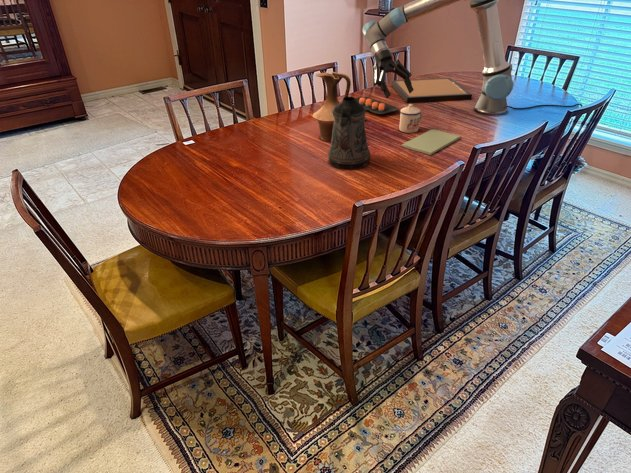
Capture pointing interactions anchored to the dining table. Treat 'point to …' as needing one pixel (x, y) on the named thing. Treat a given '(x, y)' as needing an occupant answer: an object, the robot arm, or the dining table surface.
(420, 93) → the cork board
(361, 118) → the beer stein
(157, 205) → the dining table surface
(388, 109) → the sushi plate
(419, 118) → the teacup with lid
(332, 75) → the pitcher
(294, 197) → the dining table surface
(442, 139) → the mat
